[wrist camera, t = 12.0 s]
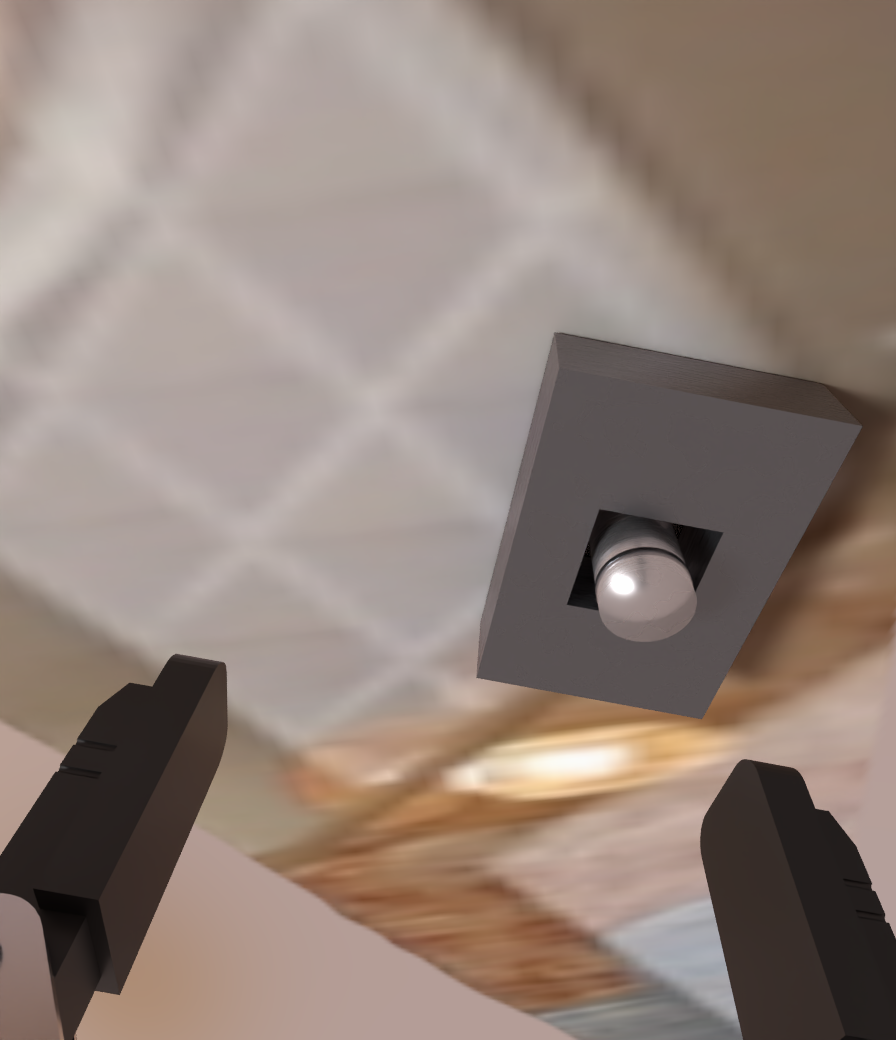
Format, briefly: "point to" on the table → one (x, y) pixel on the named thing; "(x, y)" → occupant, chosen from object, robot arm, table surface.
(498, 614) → the grey block with hole
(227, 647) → the table surface
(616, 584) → the piston
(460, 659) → the table surface
